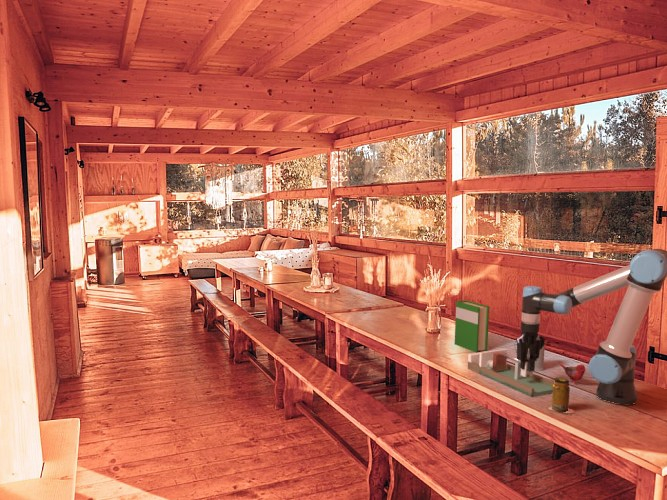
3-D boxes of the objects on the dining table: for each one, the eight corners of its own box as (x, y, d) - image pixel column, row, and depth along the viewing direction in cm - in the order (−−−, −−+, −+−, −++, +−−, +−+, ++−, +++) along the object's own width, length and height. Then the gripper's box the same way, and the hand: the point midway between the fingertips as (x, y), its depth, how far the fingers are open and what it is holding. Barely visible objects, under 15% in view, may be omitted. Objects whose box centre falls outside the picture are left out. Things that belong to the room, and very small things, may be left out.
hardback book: (487, 351, 293) (489, 306, 291) (476, 352, 290) (478, 307, 288) (464, 342, 309) (466, 300, 307) (454, 344, 306) (456, 301, 303)
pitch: (558, 391, 233) (559, 368, 232) (531, 396, 227) (532, 373, 226) (492, 364, 269) (493, 344, 268) (467, 368, 262) (468, 348, 261)
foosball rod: (536, 382, 238) (537, 359, 237) (525, 384, 235) (527, 360, 234) (502, 369, 256) (503, 346, 255) (492, 370, 254) (493, 348, 253)
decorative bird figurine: (581, 389, 237) (583, 366, 236) (555, 375, 254) (556, 354, 253) (587, 388, 238) (589, 366, 237) (560, 375, 255) (561, 354, 254)
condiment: (554, 404, 219) (556, 375, 218) (576, 410, 213) (578, 380, 212) (547, 409, 214) (549, 379, 213) (569, 415, 208) (571, 384, 207)
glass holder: (545, 371, 260) (547, 340, 259) (514, 369, 263) (516, 338, 262) (542, 366, 269) (544, 336, 267) (512, 363, 272) (513, 333, 270)
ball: (491, 359, 262) (492, 367, 261) (484, 360, 260) (485, 368, 259) (497, 359, 258) (498, 368, 258) (490, 360, 256) (491, 369, 256)
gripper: (537, 318, 243) (533, 370, 246) (509, 321, 236) (506, 375, 239) (550, 322, 237) (547, 375, 239) (522, 325, 229) (519, 380, 232)
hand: (526, 375), depth 239 cm, fingers closed on foosball rod, 3 cm apart
